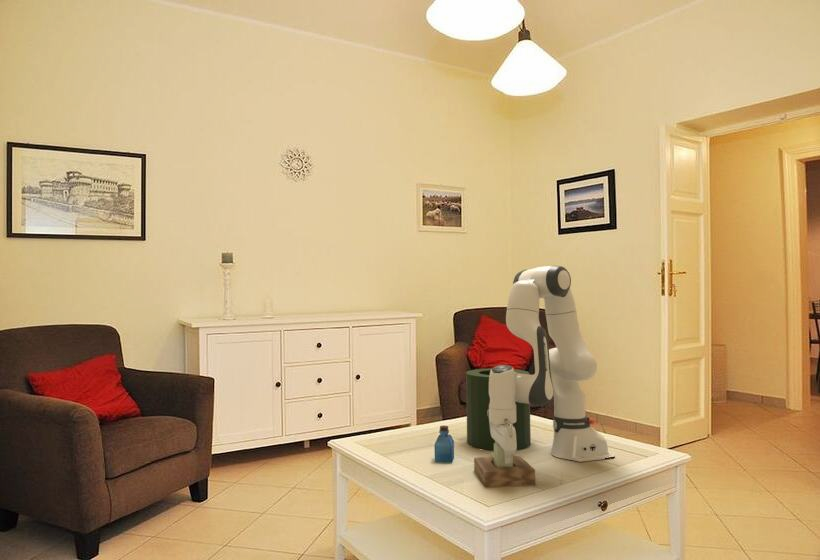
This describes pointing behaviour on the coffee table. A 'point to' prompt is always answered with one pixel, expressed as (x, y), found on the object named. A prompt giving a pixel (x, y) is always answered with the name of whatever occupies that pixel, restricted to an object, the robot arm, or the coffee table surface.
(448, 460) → the perfume bottle
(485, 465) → the walnut stand
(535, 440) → the coffee table surface
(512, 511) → the coffee table surface
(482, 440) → the flower pot
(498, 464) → the sage plug
